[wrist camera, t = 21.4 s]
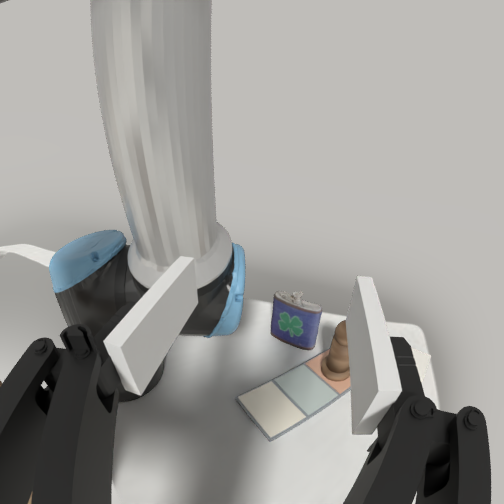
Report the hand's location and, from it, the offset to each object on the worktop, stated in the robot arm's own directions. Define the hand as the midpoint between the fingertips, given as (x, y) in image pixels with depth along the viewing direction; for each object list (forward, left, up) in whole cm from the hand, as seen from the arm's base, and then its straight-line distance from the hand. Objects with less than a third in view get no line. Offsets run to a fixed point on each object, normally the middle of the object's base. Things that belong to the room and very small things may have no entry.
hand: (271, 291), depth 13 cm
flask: (-19, +20, -28) cm, 40 cm away
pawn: (-8, +21, -27) cm, 35 cm away
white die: (+1, +28, -28) cm, 40 cm away
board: (-8, +14, -28) cm, 33 cm away
